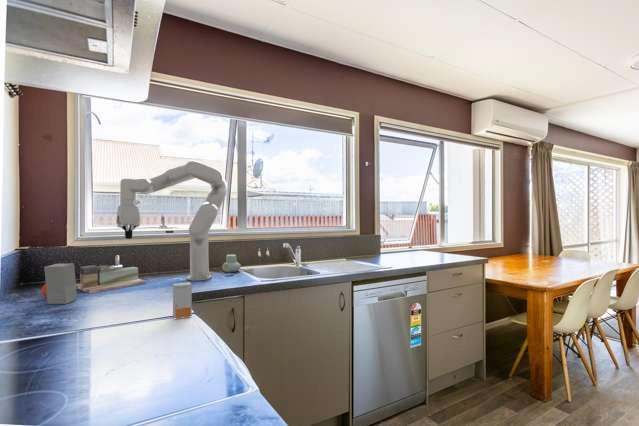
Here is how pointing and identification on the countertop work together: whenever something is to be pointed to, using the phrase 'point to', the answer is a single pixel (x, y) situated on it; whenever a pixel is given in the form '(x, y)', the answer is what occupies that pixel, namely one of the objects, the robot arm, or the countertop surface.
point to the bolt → (116, 264)
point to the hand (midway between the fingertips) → (128, 238)
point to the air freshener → (231, 264)
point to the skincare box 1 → (60, 283)
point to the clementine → (44, 290)
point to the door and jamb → (107, 278)
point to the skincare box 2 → (182, 300)
